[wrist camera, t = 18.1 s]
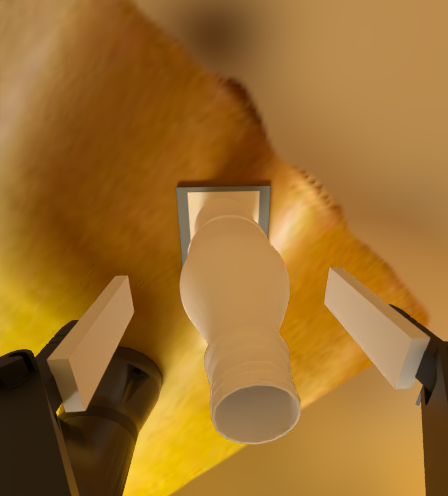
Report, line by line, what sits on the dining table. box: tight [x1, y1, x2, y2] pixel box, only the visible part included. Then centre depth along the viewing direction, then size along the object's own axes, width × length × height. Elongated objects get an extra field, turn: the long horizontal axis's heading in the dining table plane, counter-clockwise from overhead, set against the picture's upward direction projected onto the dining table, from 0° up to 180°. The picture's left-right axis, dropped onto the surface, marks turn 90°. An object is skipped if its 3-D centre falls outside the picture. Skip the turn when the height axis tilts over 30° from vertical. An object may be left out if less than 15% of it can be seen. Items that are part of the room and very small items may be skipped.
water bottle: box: [180, 197, 301, 444], centre depth 19 cm, size 7×7×25 cm
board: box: [176, 185, 271, 265], centre depth 33 cm, size 12×18×1 cm, turn 1°
